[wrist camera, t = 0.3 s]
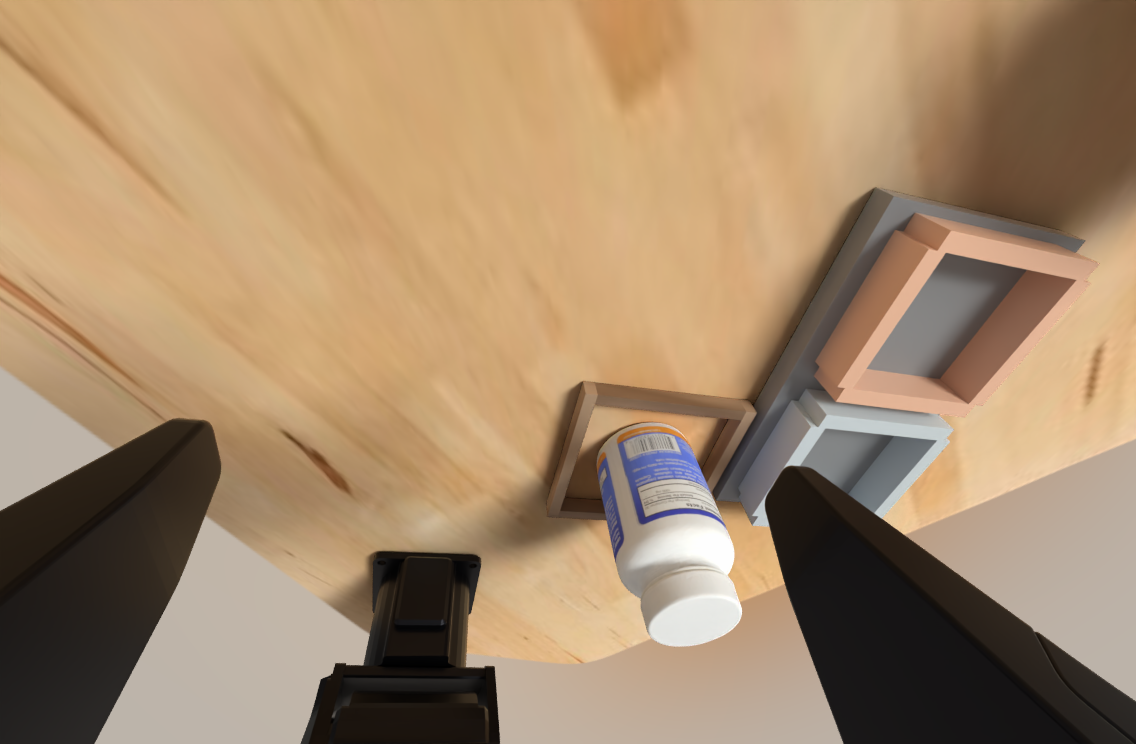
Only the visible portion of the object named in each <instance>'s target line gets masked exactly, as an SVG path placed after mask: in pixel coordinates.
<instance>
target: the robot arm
mask: <svg viewBox="0 0 1136 744" xmlns="http://www.w3.org/2000/svg"><path fill="white" fill-rule="evenodd" d="M220 474H221V460H220V455H219V451H218V447H217V443H216V438H215V434H214V430H213V427H212V425H211V424H210V423H209V422H208V421H205V420H197V419H184V418H176V419H172V420H169V421H167V422H165V423H163V424H161V425H160V426H158V427H156V428H154V429H152V430H150V431H148V432H147V433H145V434H143V435H141V436H139V437H137V438H135V439H133V440H132V441H130V442H128V443H126V444H124V445H122V446H120V447H119V448H117V449H115V450H113V451H111V452H109V453H108V454H106V455H104V456H102V457H100V458H98V459H96V460H95V461H92V462H91V463H89V464H87V465H85V466H83V467H81V468H80V469H78V470H76V471H74V472H72V473H70V474H68V475H66V476H64V477H63V478H61V479H59V480H57V481H55V482H53V483H51V484H50V485H48V486H46V487H44V488H42V489H40V490H38V491H37V492H35V493H33V494H31V495H29V496H27V497H25V498H24V499H22V500H20V501H18V502H16V503H14V504H12V505H11V506H8V507H7V508H5V509H3V510H1V511H0V744H94V743H95V741H96V740H97V738H98V736H99V734H100V732H101V730H102V728H103V726H104V724H105V722H106V721H107V719H108V716H109V715H110V713H111V711H112V709H113V707H114V705H115V703H116V701H117V700H118V698H119V696H120V694H121V692H122V690H123V688H124V686H125V684H126V682H127V680H128V679H129V677H130V675H131V673H132V671H133V669H134V667H135V665H136V663H137V662H138V660H139V658H140V656H141V654H142V652H143V650H144V648H145V646H146V644H147V643H148V641H149V639H150V637H151V635H152V633H153V631H154V629H155V627H156V625H157V624H158V622H159V620H160V618H161V616H162V614H163V612H164V610H165V608H166V606H167V604H168V602H169V601H170V599H171V597H172V595H173V593H174V591H175V589H176V587H177V585H178V582H179V580H180V577H181V576H182V573H183V571H184V568H185V566H186V564H187V561H188V558H189V556H190V553H191V551H192V548H193V545H194V543H195V540H196V538H197V535H198V533H199V530H200V527H201V525H202V522H203V520H204V517H205V515H206V512H207V509H208V507H209V504H210V502H211V499H212V497H213V494H214V491H215V489H216V486H217V484H218V481H219V478H220ZM765 512H766V515H767V519H768V523H769V527H770V530H771V534H772V538H773V542H774V545H775V549H776V553H777V557H778V560H779V564H780V568H781V572H782V575H783V579H784V582H785V586H786V589H787V592H788V595H789V598H790V601H791V604H792V607H793V609H794V612H795V615H796V617H797V620H798V623H799V626H800V628H801V631H802V633H803V636H804V639H805V642H806V644H807V647H808V650H809V652H810V655H811V657H812V660H813V663H814V666H815V668H816V671H817V674H818V676H819V679H820V682H821V684H822V687H823V690H824V693H825V695H826V698H827V701H828V703H829V706H830V709H831V711H832V714H833V716H834V719H835V722H836V725H837V727H838V730H839V732H840V736H841V738H842V741H843V744H1136V701H1135V700H1133V699H1132V698H1130V697H1129V696H1127V695H1126V694H1124V693H1123V692H1121V691H1120V690H1118V689H1117V688H1115V687H1114V686H1113V685H1111V684H1110V683H1108V682H1107V681H1105V680H1104V679H1103V678H1101V677H1100V676H1098V675H1097V674H1095V673H1094V672H1093V671H1091V670H1090V669H1089V668H1087V667H1086V666H1084V665H1083V664H1081V663H1080V662H1079V661H1077V660H1076V659H1075V658H1073V657H1071V656H1070V655H1069V654H1068V653H1066V652H1065V651H1063V650H1062V649H1061V648H1059V647H1058V646H1056V645H1055V644H1054V643H1052V642H1051V641H1050V640H1048V639H1047V638H1045V637H1044V636H1043V635H1041V634H1040V633H1038V632H1034V631H1033V629H1032V628H1031V627H1030V626H1029V625H1027V624H1026V623H1025V622H1023V621H1022V620H1020V619H1019V618H1018V617H1016V616H1015V615H1014V614H1012V613H1011V612H1010V611H1008V610H1007V609H1005V608H1004V607H1003V606H1001V605H1000V604H998V603H997V602H996V601H994V600H993V599H991V598H990V597H989V596H987V595H986V594H984V593H983V592H982V591H981V590H979V589H978V588H976V587H975V586H974V585H972V584H971V583H969V582H968V581H967V580H965V579H964V578H963V577H961V576H960V575H959V574H957V573H956V572H954V571H953V570H952V569H950V568H949V567H947V566H946V565H945V564H943V563H942V562H941V561H939V560H938V559H937V558H935V557H934V556H932V555H931V554H930V553H928V552H927V551H925V550H924V549H923V548H921V547H920V546H919V545H917V544H916V543H914V542H913V541H912V540H910V539H909V538H908V537H906V536H905V535H903V534H902V533H901V532H899V531H898V530H897V529H895V528H894V527H892V526H891V525H890V524H888V523H887V522H886V521H884V520H883V519H881V518H880V517H879V516H877V515H876V514H875V513H873V512H872V511H870V510H869V509H868V508H866V507H865V506H864V505H862V504H861V503H859V502H858V501H857V500H855V499H854V498H853V497H851V496H850V495H848V494H847V493H846V492H844V491H843V490H842V489H840V488H839V487H837V486H836V485H835V484H833V483H832V482H831V481H829V480H828V479H826V478H825V477H824V476H822V475H821V474H819V473H818V472H817V471H815V470H814V469H812V468H810V467H806V466H793V465H790V466H787V467H785V468H784V469H783V470H782V471H781V473H780V474H779V476H778V478H777V479H776V481H775V482H774V484H773V486H772V487H771V489H770V490H769V492H768V494H767V496H766V498H765ZM480 568H481V558H480V557H478V556H472V555H445V554H418V553H391V552H380V553H377V554H376V555H375V556H374V561H373V613H374V617H373V621H372V626H371V631H370V636H369V641H368V646H367V651H366V655H365V660H364V665H363V666H360V665H346V663H336V664H335V667H334V671H333V674H331V675H330V676H328V677H325V678H323V679H321V681H320V685H319V689H318V692H317V696H316V700H315V703H314V707H313V710H312V714H311V717H310V720H309V723H308V725H307V728H306V731H305V734H304V736H303V739H302V741H301V744H500V733H499V720H498V707H497V693H496V679H495V667H494V666H485V667H484V668H475V667H474V668H473V667H466V652H467V633H468V615H469V614H470V613H471V610H472V606H473V601H474V596H475V592H476V587H477V582H478V577H479V573H480Z"/></svg>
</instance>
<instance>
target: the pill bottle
mask: <svg viewBox="0 0 1136 744" xmlns="http://www.w3.org/2000/svg"><path fill="white" fill-rule="evenodd" d="M596 467H597V476H598V480H599V485H600V490H601V495H602V500H603V504H604V509H605V514H606V519H607V524H608V529H609V534H610V538H611V543H612V548H613V553H614V558H615V562H616V566H617V570H618V574H619V577H620V579H621V581H622V583H623V584H624V586H625V587H626V588H627V589H628V590H629V591H630V592H631V593H633V594H634V595H635V596H637V597H639V598H641V611H642V614H643V617H644V621H645V625H646V628H647V631H648V634H649V635H650V637H651V638H652V639H653V640H655V641H656V642H658V643H660V644H664V645H667V646H692V645H698V644H703V643H706V642H709V641H712V640H714V639H716V638H719V637H721V636H723V635H725V634H726V633H728V632H729V631H731V630H732V629H733V628H734V627H735V626H736V625H737V623H738V622H739V620H740V618H741V615H742V609H741V605H740V602H739V599H738V596H737V593H736V591H735V586H734V584H733V582H732V580H731V579H730V578H729V577H728V573H729V572H730V570H731V568H732V565H733V561H734V548H733V544H732V541H731V538H730V536H729V533H728V531H727V529H726V526H725V524H724V522H723V519H722V517H721V515H720V513H719V511H718V508H717V506H716V504H715V501H714V499H713V497H712V495H711V492H710V490H709V488H708V485H707V483H706V481H705V478H704V476H703V474H702V472H701V469H700V467H699V465H698V462H697V460H696V458H695V455H694V453H693V451H692V448H691V446H690V444H689V443H688V441H687V439H686V438H685V436H684V435H683V434H682V433H681V432H680V431H679V430H677V429H676V428H674V427H672V426H670V425H667V424H663V423H658V422H646V423H640V424H635V425H632V426H629V427H627V428H624V429H622V430H621V431H619V432H617V433H616V434H614V435H613V436H612V437H610V438H609V439H608V440H607V441H606V442H605V443H604V445H603V446H602V447H601V449H600V451H599V453H598V457H597V462H596Z"/></svg>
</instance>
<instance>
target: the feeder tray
mask: <svg viewBox="0 0 1136 744" xmlns="http://www.w3.org/2000/svg"><path fill="white" fill-rule="evenodd" d="M594 405H602V406H612V407H621V408H630V409H640V410H649V411H658V412H668V413H677V414H686V415H696V416H705V417H714V418H724V419H728V421H727V423H726V425H725V427H724V429H723V431H722V432H721V434H720V436H719V438H718V440H717V442H716V444H715V446H714V447H713V449H712V451H711V453H710V455H709V457H708V459H707V461H706V462H705V464H704V466H703V468H702V470H701V472H702V474H703V476H704V478H705V481H706V483H707V485H708V488H709V490H710V492H711V493H712V491H713V489H714V487H715V485H716V484H717V482H718V480H719V478H720V477H721V475H722V473H723V471H724V470H725V468H726V466H727V464H728V463H729V461H730V459H731V457H732V456H733V454H734V452H735V450H736V449H737V447H738V445H739V443H740V442H741V440H742V438H743V436H744V435H745V433H746V431H747V429H748V428H749V426H750V424H751V422H752V421H753V419H754V417H755V415H756V414H757V412H756V411H755V409H754V408H753V406H752V404H751V403H750V401H748V400H740V399H731V398H722V397H714V396H705V395H697V394H688V393H680V392H671V391H663V390H654V389H646V388H637V387H629V386H620V385H612V384H603V383H594V382H586V381H583V383H582V386H581V390H580V393H579V396H578V400H577V403H576V406H575V410H574V413H573V416H572V420H571V423H570V426H569V430H568V433H567V436H566V440H565V443H564V446H563V449H562V453H561V456H560V459H559V463H558V466H557V469H556V473H555V476H554V479H553V483H552V486H551V489H550V493H549V496H548V499H547V503H546V505H547V516H548V517H556V518H574V519H592V520H607V519H606V514H605V509H604V504H603V500H593V499H578V498H564V497H565V494H566V491H567V488H568V485H569V482H570V478H571V475H572V472H573V469H574V466H575V463H576V460H577V457H578V454H579V451H580V448H581V445H582V442H583V439H584V436H585V433H586V430H587V427H588V424H589V421H590V418H591V414H592V411H593V408H594Z"/></svg>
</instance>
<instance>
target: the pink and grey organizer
mask: <svg viewBox="0 0 1136 744" xmlns="http://www.w3.org/2000/svg"><path fill="white" fill-rule="evenodd" d="M1084 242H1085V240H1083V239H1080V238H1078V237H1075V236H1073V235H1070V234H1068V233H1065V232H1063V231H1060V230H1056V229H1052V228H1047V227H1043V226H1039V225H1035V224H1030V223H1026V222H1022V221H1018V220H1013V219H1009V218H1005V217H1000V216H996V215H992V214H988V213H983V212H979V211H975V210H971V209H966V208H962V207H958V206H954V205H949V204H945V203H941V202H937V201H932V200H928V199H924V198H920V197H915V196H911V195H907V194H903V193H898V192H894V191H890V190H885V189H881V188H877V187H875V189H874V191H873V193H872V194H871V196H870V198H869V200H868V202H867V203H866V205H865V207H864V209H863V211H862V212H861V214H860V216H859V218H858V220H857V221H856V223H855V225H854V227H853V228H852V230H851V232H850V234H849V236H848V237H847V239H846V241H845V243H844V245H843V246H842V248H841V250H840V252H839V254H838V255H837V257H836V259H835V261H834V262H833V264H832V266H831V268H830V270H829V271H828V273H827V275H826V277H825V279H824V280H823V282H822V284H821V286H820V288H819V289H818V291H817V293H816V295H815V296H814V298H813V300H812V302H811V304H810V305H809V307H808V309H807V311H806V313H805V314H804V316H803V318H802V320H801V322H800V323H799V325H798V327H797V329H796V330H795V332H794V334H793V336H792V338H791V339H790V341H789V343H788V345H787V347H786V348H785V350H784V352H783V354H782V356H781V357H780V359H779V361H778V363H777V364H776V366H775V368H774V370H773V372H772V373H771V375H770V377H769V379H768V381H767V382H766V384H765V386H764V388H763V390H762V391H761V393H760V395H759V397H758V398H757V400H756V402H755V404H754V406H753V408H754V409H755V411H756V412H757V414H756V415H755V417H754V419H753V421H752V422H751V424H750V426H749V428H748V429H747V431H746V433H745V435H744V436H743V438H742V440H741V442H740V443H739V445H738V447H737V449H736V450H735V452H734V454H733V456H732V457H731V459H730V461H729V463H728V464H727V466H726V468H725V470H724V471H723V473H722V475H721V477H720V478H719V480H718V482H717V484H716V485H715V487H714V489H713V491H712V492H713V495H714V497H715V499H716V500H717V501H732V502H741V503H742V505H743V507H744V509H745V512H746V514H747V516H748V518H749V520H750V522H751V524H752V526H769V523H768V519H767V515H766V512H765V498H766V496H767V494H768V492H769V490H770V489H771V487H772V486H773V484H774V482H775V481H776V479H777V478H778V476H779V474H780V473H781V471H782V470H783V469H784V468H785V467H787V466H790V465H793V466H806V467H810V468H812V469H814V470H815V471H817V472H818V473H819V474H821V475H822V476H824V477H825V478H826V479H828V480H829V481H831V482H832V483H833V484H835V485H836V486H837V487H839V488H840V489H842V490H843V491H844V492H846V493H847V494H848V495H850V496H851V497H853V498H854V499H855V500H857V501H858V502H859V503H861V504H862V505H864V506H865V507H866V508H868V509H869V510H870V511H872V512H873V513H875V514H876V515H877V516H879V517H880V518H881V519H882V518H883V517H884V515H885V514H886V513H887V512H888V511H889V510H890V509H891V508H892V506H893V505H894V504H895V503H896V502H897V501H898V500H899V499H900V497H901V496H902V495H903V494H904V493H905V492H906V491H907V490H908V488H909V487H910V486H911V485H912V484H913V483H914V482H915V481H916V479H917V478H918V477H919V476H920V475H921V474H922V473H923V472H924V471H925V469H926V468H927V467H928V466H929V465H930V464H931V463H932V462H933V460H934V459H935V458H936V457H937V456H938V455H939V454H940V453H941V451H942V450H943V449H944V448H945V447H946V446H947V445H948V444H949V442H950V441H949V440H948V439H947V437H948V436H949V435H950V433H951V432H952V431H953V430H954V429H953V428H952V427H951V426H950V425H949V424H948V423H947V422H945V421H944V420H943V419H942V418H941V417H940V416H939V415H948V416H957V417H965V416H966V415H967V414H968V413H969V412H970V411H971V410H972V408H973V407H974V406H975V405H979V406H982V405H983V404H984V403H985V402H986V401H987V400H988V399H989V398H990V396H991V395H992V394H993V393H994V392H995V391H996V390H997V389H998V387H999V386H1000V385H1001V384H1002V383H1003V382H1004V381H1005V380H1006V378H1007V377H1008V376H1009V375H1010V374H1011V373H1012V372H1013V371H1014V369H1015V368H1016V367H1017V366H1018V365H1019V364H1020V363H1021V362H1022V361H1023V359H1024V358H1025V357H1026V356H1027V355H1028V354H1029V353H1030V352H1031V350H1032V349H1033V348H1034V347H1035V346H1036V345H1037V344H1038V343H1039V341H1040V340H1041V339H1042V338H1043V337H1044V336H1045V335H1046V334H1047V332H1048V331H1049V330H1050V329H1051V328H1052V327H1053V326H1054V325H1055V323H1056V322H1057V321H1058V320H1059V319H1060V318H1061V317H1062V316H1063V314H1064V313H1065V312H1066V311H1067V310H1068V309H1069V308H1070V307H1071V306H1072V304H1073V303H1074V302H1075V301H1076V300H1077V299H1078V298H1079V297H1080V295H1081V294H1082V293H1083V292H1084V291H1085V290H1086V289H1087V288H1088V286H1089V285H1090V284H1091V283H1090V282H1088V281H1086V279H1087V278H1088V277H1089V276H1090V274H1091V273H1092V272H1093V271H1094V270H1095V269H1096V268H1097V266H1098V265H1099V264H1100V263H1098V262H1095V261H1093V260H1091V259H1089V258H1086V257H1084V256H1082V255H1079V254H1077V253H1076V252H1077V250H1078V249H1079V248H1080V247H1081V246H1082V244H1083V243H1084Z"/></svg>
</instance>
